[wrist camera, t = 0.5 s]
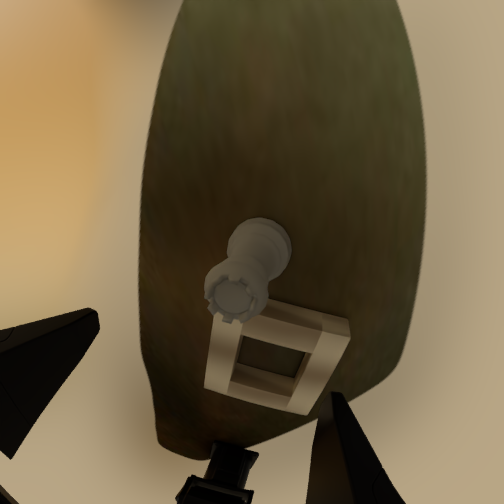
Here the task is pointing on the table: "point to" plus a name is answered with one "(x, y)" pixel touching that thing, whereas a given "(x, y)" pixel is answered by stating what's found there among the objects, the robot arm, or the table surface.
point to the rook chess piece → (247, 270)
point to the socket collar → (284, 334)
